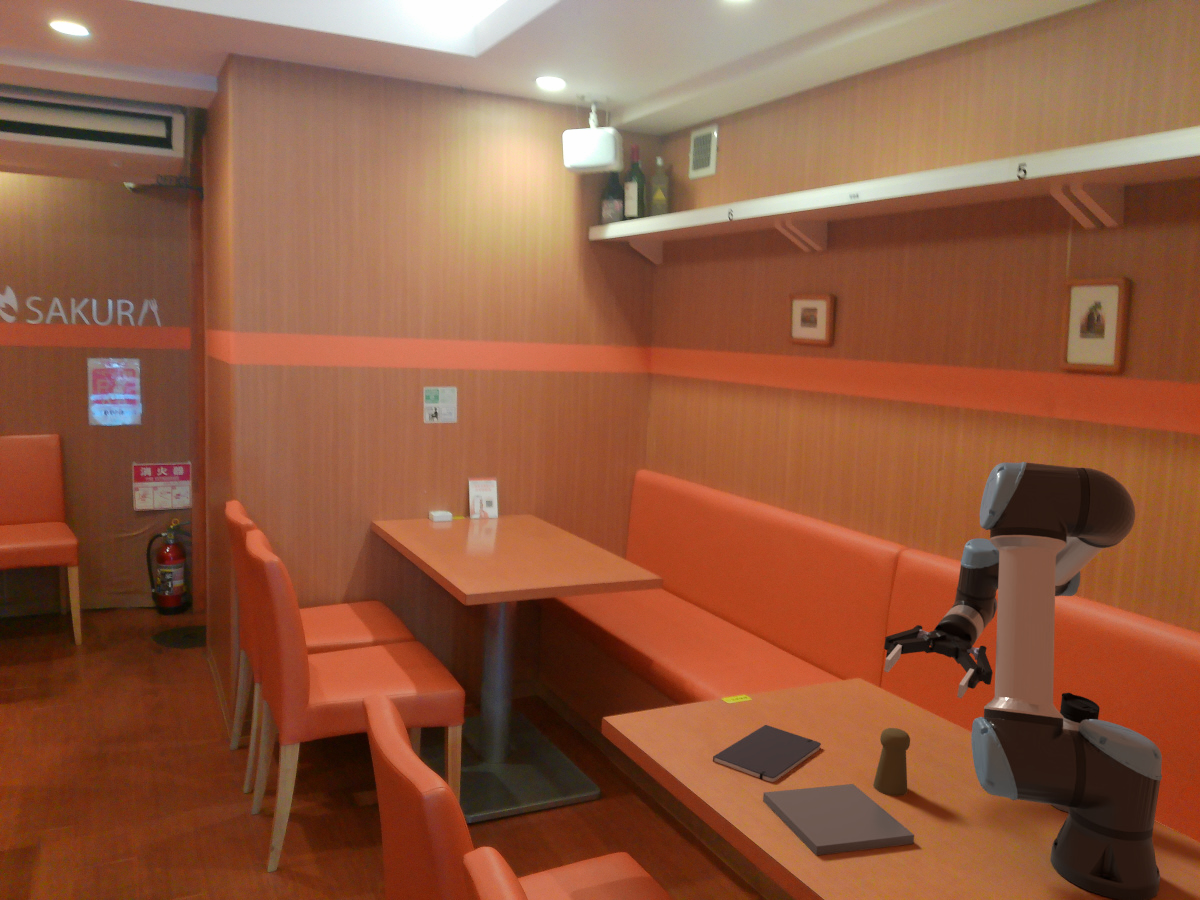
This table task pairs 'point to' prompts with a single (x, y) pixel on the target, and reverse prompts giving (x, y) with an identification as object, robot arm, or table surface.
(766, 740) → the notebook
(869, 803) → the slate board
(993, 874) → the table surface
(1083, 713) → the travel mug
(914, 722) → the table surface
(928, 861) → the table surface
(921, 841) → the table surface
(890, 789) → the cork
